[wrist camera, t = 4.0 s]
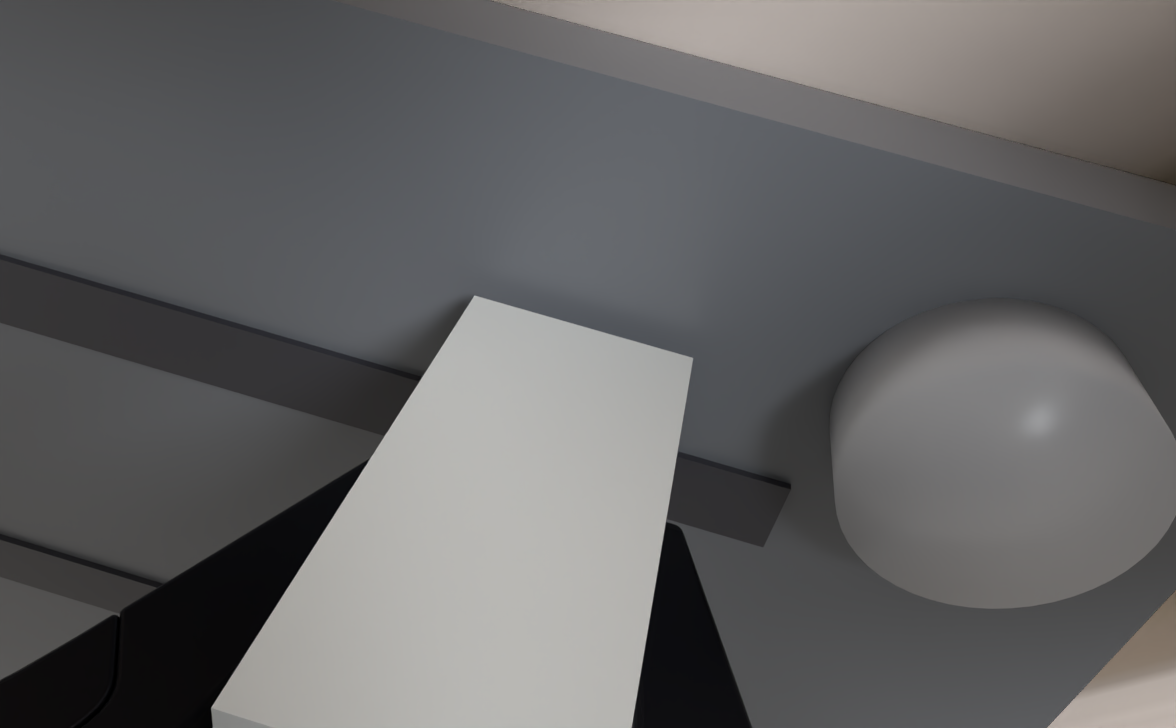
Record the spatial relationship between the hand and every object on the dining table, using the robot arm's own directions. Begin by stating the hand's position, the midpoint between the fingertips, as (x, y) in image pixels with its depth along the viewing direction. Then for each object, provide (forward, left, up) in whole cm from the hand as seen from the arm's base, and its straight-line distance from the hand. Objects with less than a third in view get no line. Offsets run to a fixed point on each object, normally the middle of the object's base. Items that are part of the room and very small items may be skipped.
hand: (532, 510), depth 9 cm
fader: (0, 0, -1) cm, 1 cm away
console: (+4, +3, -3) cm, 5 cm away
